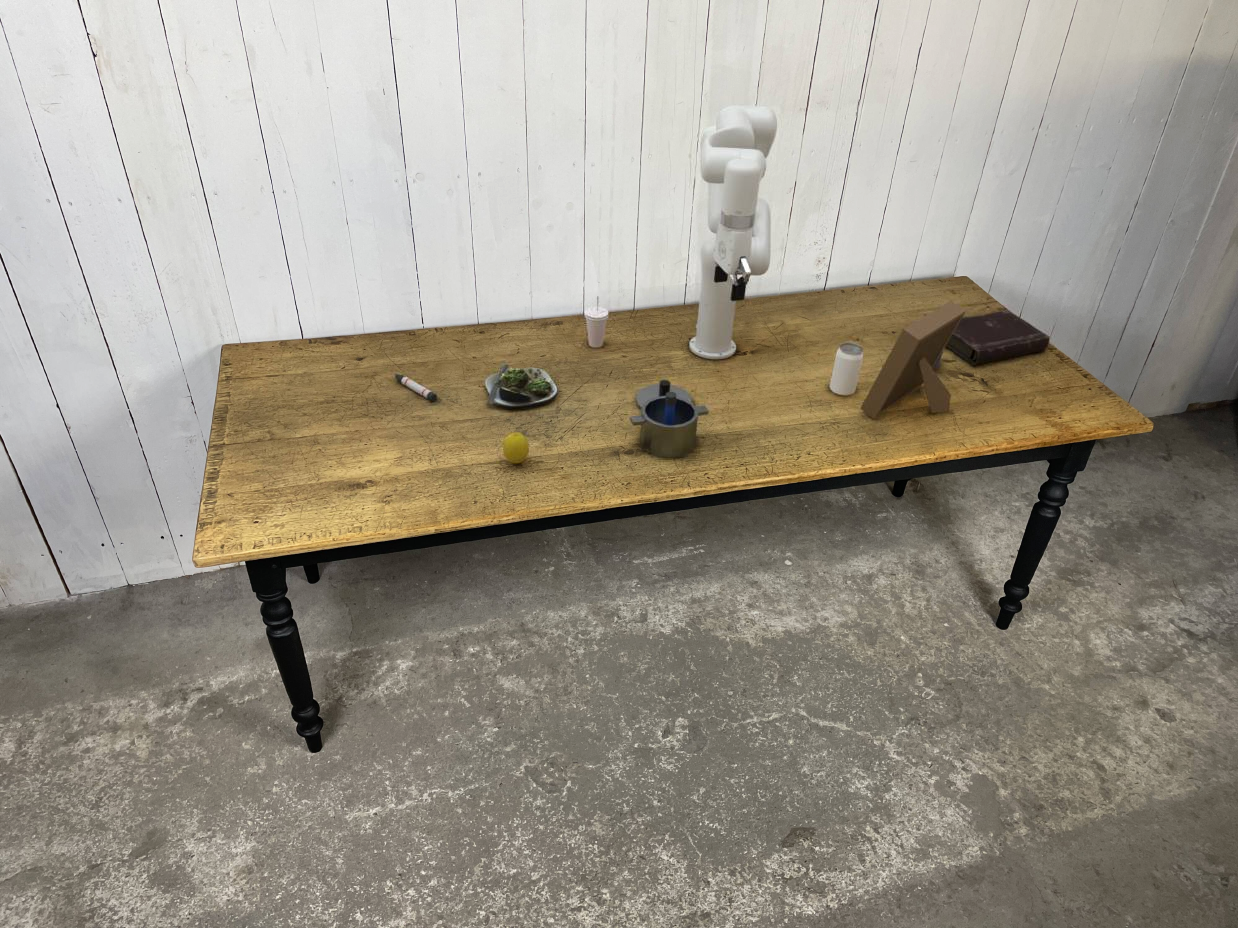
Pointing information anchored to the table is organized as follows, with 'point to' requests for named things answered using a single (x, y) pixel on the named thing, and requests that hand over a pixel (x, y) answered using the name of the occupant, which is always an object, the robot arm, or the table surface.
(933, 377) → the photo frame
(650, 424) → the pot
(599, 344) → the smoothie
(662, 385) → the pot lid
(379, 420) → the table surface
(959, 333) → the diary
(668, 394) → the pen
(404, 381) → the marker
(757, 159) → the robot arm
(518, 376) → the salad plate
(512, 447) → the lemon
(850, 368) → the can
